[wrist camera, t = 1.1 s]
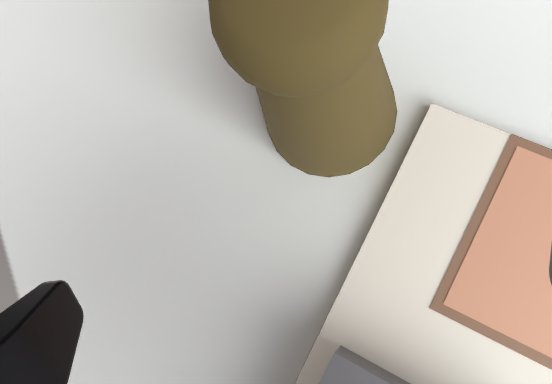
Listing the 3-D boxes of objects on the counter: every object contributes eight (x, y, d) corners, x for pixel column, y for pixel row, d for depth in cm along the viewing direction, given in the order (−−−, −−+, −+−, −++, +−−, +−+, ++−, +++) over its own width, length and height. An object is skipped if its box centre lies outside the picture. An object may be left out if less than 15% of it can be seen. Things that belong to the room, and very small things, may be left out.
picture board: (522, 703, 18) (551, 791, 15) (235, 507, 22) (208, 544, 18) (726, 224, 20) (793, 211, 17) (430, 107, 23) (437, 77, 20)
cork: (343, 203, 23) (307, 126, 13) (241, 129, 25) (134, 7, 14) (424, 96, 23) (456, -68, 13) (318, 30, 25) (268, -164, 14)
